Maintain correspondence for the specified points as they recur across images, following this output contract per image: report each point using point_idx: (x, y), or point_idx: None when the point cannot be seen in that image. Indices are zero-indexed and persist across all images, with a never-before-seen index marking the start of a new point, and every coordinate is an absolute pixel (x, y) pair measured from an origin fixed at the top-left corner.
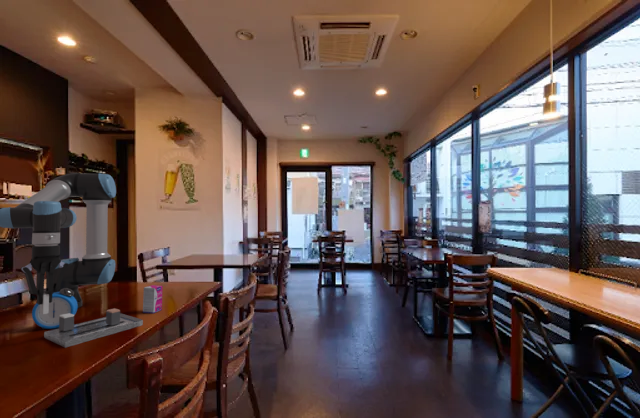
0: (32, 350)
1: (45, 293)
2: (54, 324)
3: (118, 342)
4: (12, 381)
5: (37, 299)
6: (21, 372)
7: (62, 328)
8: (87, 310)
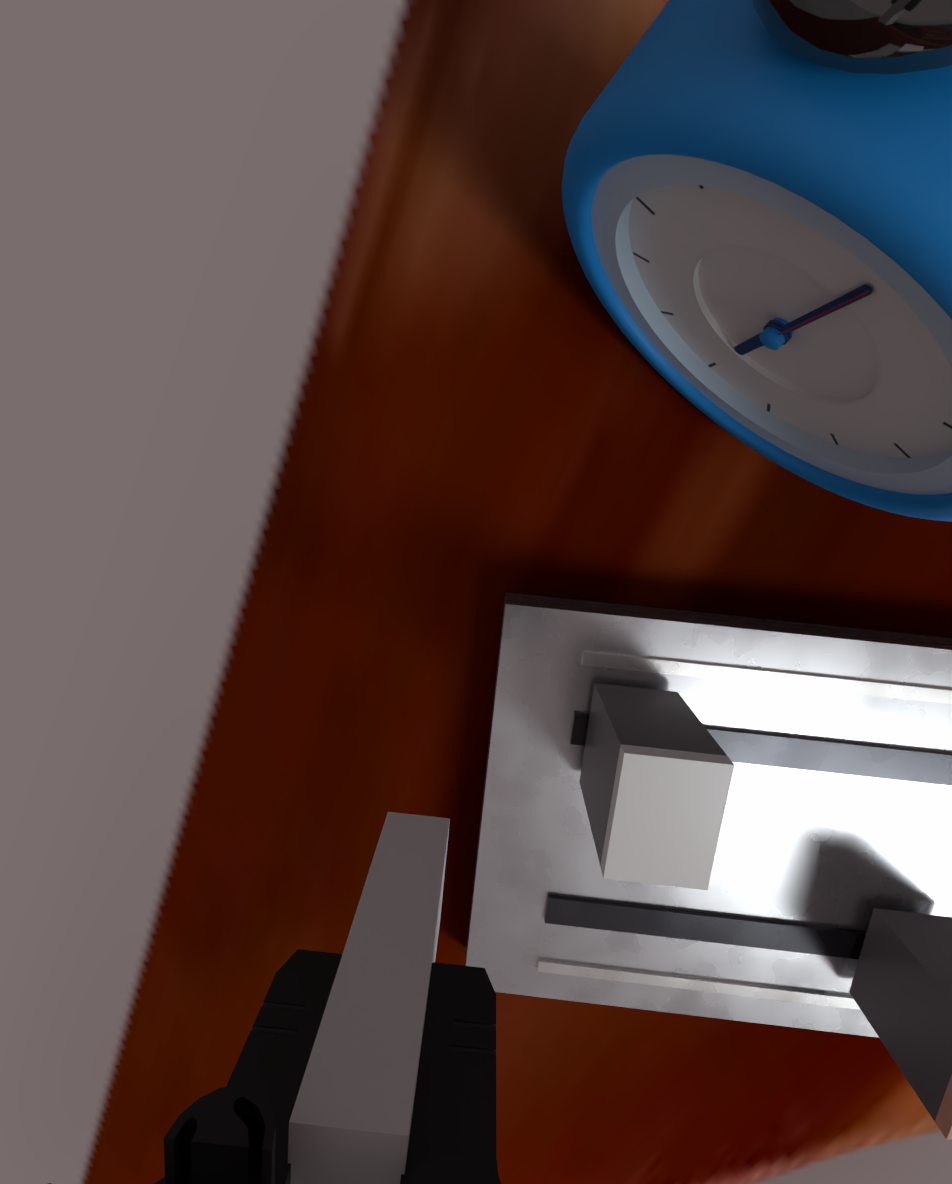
0: (333, 807)
1: (398, 1138)
2: (703, 389)
3: (676, 1147)
4: (121, 1134)
5: (245, 1066)
6: (176, 1076)
7: (586, 762)
8: None
